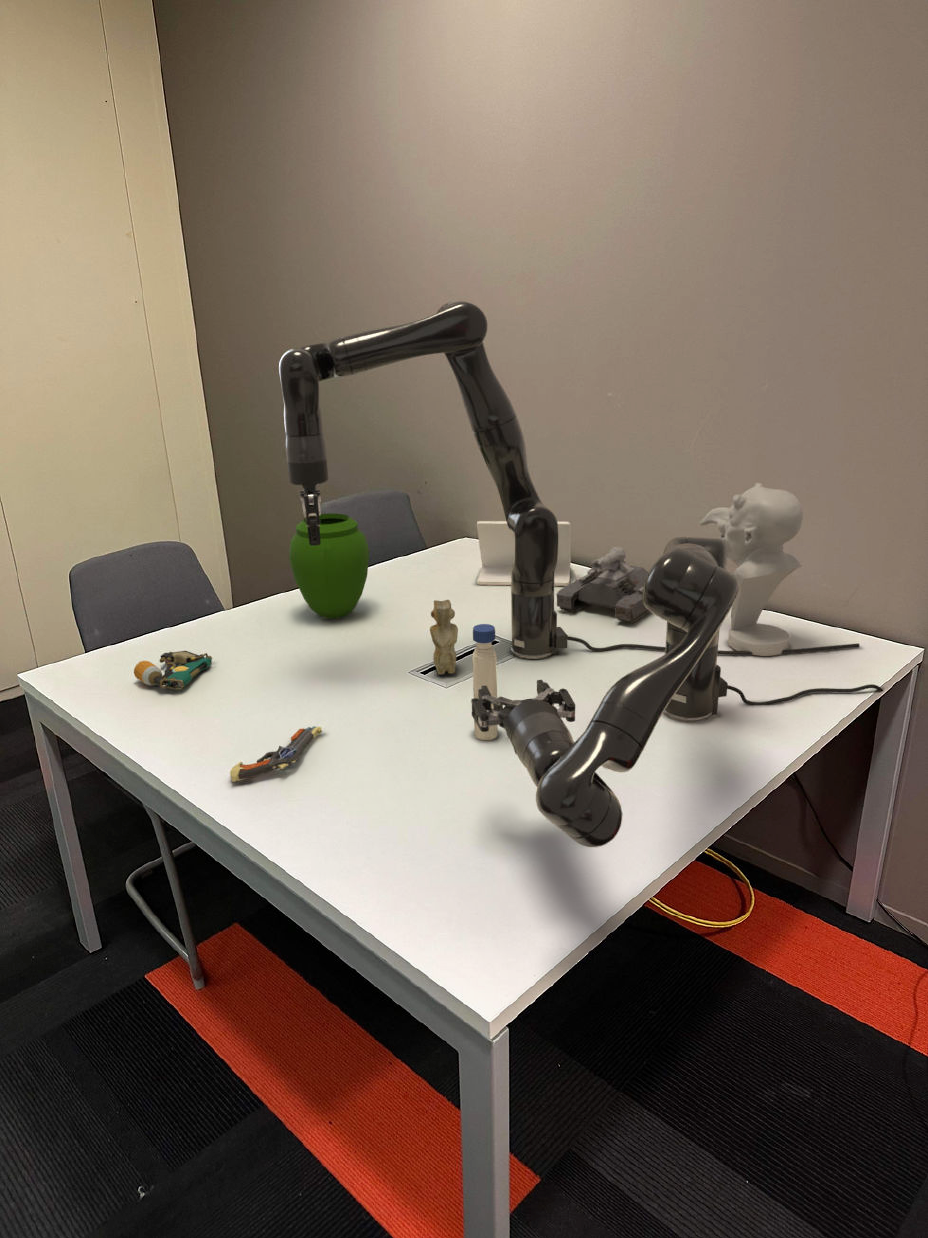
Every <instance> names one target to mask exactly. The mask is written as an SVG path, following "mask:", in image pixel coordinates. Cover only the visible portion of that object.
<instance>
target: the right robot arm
mask: <svg viewBox="0 0 928 1238" xmlns="http://www.w3.org/2000/svg"><path fill="white" fill-rule="evenodd" d="M727 565H728V557H727V548H726V545H725V543H724V541H723V540H721V539H719V538H713V537H712V538H711V537H694V536H693V537H691V536H690V537H689V536H688V537H687V536H679V537H678V536H677V537H673V538H671V539H669V541H667V543H666V545H665V547H664V549H663V553H662V554H661V555H660V556H659V557H658V559H657V560H656V561H655V562H654V564H653V565H652V566H651V568H650V570H649V571H648V575H647V577H646V580H645V582H644V586H643V590H642V601H643V604H644V605H645V607H646V608H647V609H648V610H649V611H650V612H649V613H652V614H653V615H655V616H656V617H658V618H660V619H662V620H664V621H665V622H666V633H665V647H666V648H665V651H664V654H663V655H662V656H660V657H658V658H657V659H654V660H653V661H651V662H649V663H647V664H645V665H643V666H641V667H639V668H636V669H634V670H633V671H631V672H629V673H626V674H625V675H624V676H622V677H621V678H619V679H618V680H617V681H616V682H615V683H614V684H613V685H611V687H610V688H609V689H608V690H607V692H606V693H605V695H604V696H603V697H602V699H601V701H600V703H599V705H598V707H597V709H596V711H595V713H594V714H593V716H592V718H591V719H590V721H589V723H588V725H587V727H586V729H585V730H584V732H582V734H581V735H580V736H579V737H578V738H577V739H576V740H575V741H574V738H573V736H572V733H571V732H570V729H569V728H568V727H567V725H566V724H565V722H564V721H563V719H565V720H566V721H567V722H568V723H574V722H575V721H576V703H575V702H574V700H573V698H572V696H571V694H570V693H569V691H568V690H567V689H566V688H560V689H558V691H556V690H555V689H554V688H552V687H551V686H550V685H549V683H547V682H545V681H543V679H537V680H536V692H537V695H536V697H533V698H525V699H514V700H512V699H510V698H507V697H504V696H501V695H500V696H497V698H495V697H492V696H491V693H490V691H489V689H488V688H487V686H486V685H485V686H481V689H479V690H478V698H479V699H478V698H474V697H473V698H471V700H470V702H471V703H470V704H471V717H472V718H473V721H474V720H475V722H476V724H477V725H478V727H479V729H480V730H481V731H482V732H487V731H489V726H493V725H498V726H499V727H500V728H502V729H504V731H505V733H506V735H507V738H508V740H509V742H510V743H511V746H512V747H513V751H514V754H515V755H516V756H517V758H518V759H519V761H520V762H521V764H522V766H524V767H525V769H526V770H527V772H528V775H529V777H530V779H531V780H532V782H533V784H534V785H535V786H536V791H535V803H536V804H535V805H536V807H537V809H538V811H539V812H540V814H541V815H542V816H544V818H545V819H546V820H548V821H549V822H550V823H552V824H553V825H554V826H556V827H557V828H558V829H559V830H561V831H562V832H563V833H564V834H566V835H567V836H568V837H569V838H570V839H572V841H574V842H575V843H577V844H578V845H580V846H583V847H586V848H599V847H603V846H606V845H607V844H609V843H610V842H611V841H613V840H614V839H615V838H616V836H617V835H618V833H619V832H620V829H621V827H622V822H623V810H622V805H621V802H620V800H619V798H618V796H617V795H616V794H615V792H614V791H613V790H612V789H611V788H610V787H609V785H608V784H607V783H606V782H605V781H604V780H603V779H602V777H601V776H600V774H598V773H597V772H596V771H597V770H598V769H599V768H600V767H603V768H604V769H607V770H609V771H613V772H616V773H627V772H630V771H631V770H632V769H633V768H634V767H635V765H636V764H637V763H638V761H639V759H640V758H641V755H642V754H643V751H644V750H645V748H646V746H647V744H648V742H649V740H650V739H651V737H652V735H653V732H654V730H655V728H656V726H657V724H658V723H659V721H660V719H661V717H662V715H663V714H664V715H665V716H667V717H668V718H671V719H673V720H677V721H681V722H690V723H691V722H702V721H706V720H708V719H710V718H711V717H712V716H717V715H718V709H719V698H723V697H724V698H725V697H728V695H727V694H728V690H730V691H733V692H735V693H736V694H738V695H739V697H740V699H741V700H742V702H743V703H744V704H746V705H749V706H770V705H774V704H778V703H784V702H788V701H792V700H795V699H797V698H799V697H801V696H804V695H806V694H813V693H856V692H860V691H864V690H867V689H875V690H876V691H878V692H884V689H883V688H882V687H880V686H879V685H877V684H874V683H873V684H865V685H862V686H861V685H860V686H858V687H851V688H833V687H832V688H831V687H827V688H826V687H819V688H810V689H803V690H801V691H798V692H797V693H794V694H793V695H789V696H786V697H781V698H776V699H771V700H767V701H751V700H748V699H747V698H746V696H745V694H744V692H743V691H742V690H741V689H739V688H738V687H735V686H732V685H729V684H728V682H727V681H726V680H725V679H724V678H723V677H721V674H722V673H721V672H722V671H721V670H722V668H721V666H720V665H719V664H717V663H718V655H719V654H718V650H719V639H720V630H721V629H720V628H721V627H722V625H723V624H724V622H725V620H726V618H727V617H728V615H729V614H730V612H731V609H732V605H733V603H734V601H735V599H736V596H737V593H738V589H739V582H738V579H737V578H736V577H735V576H734V573H732V572H730V571H728V570H727ZM491 704H493V706H494V709H492V708H491ZM555 705H558V707H559V708H557V707H556V706H555Z"/></svg>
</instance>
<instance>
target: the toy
mask: <svg viewBox="0 0 928 1238" xmlns="http://www.w3.org/2000/svg"><path fill="white" fill-rule="evenodd" d="M626 557H627V556H626V551H625V549H624V548H622V547H621V546H614V547H612V548H611V549H610V550H609V552H608V553H607V554H605V555H604V556H601V557H599V558H598V559H597V557H596V558H594V559H593V560H592V561H590V562H589V563H590V564H591V565H592V567H591V568H590V569H589V570H587V573H586V575H584V576H582V577H580V578H578V579H577V580H575V581H573V582H570V583H569V585H567V586H563V587H562V588H560V589H559V590H558V591H557V592H556V607H558V608H559V609H560V610H562V611H566V612H572V613H575V612H577V611H579V610H581V609H582V608H585V607H586V606H588V605H592V606H598V607H602V608H603V607H604V608H609V609H613V610H614V618H615V619H617V620H618V621H621V622H626V623H631V624H634V623H635V622H637V621H638V620H640V619H641V618H642V617H644V616H645V615H647V614H648V613H651V612H650V611H649V610H648V609H647V608H646V607H645V605H644V604H643V601H642V590H643V586H644V582H645V580H646V577H647V575H648V573H649V571H647V570H646V568H644V567H641V566H635V565H629V564H628V563H627V562H626V561H625V559H626Z"/></svg>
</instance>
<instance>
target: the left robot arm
mask: <svg viewBox="0 0 928 1238" xmlns="http://www.w3.org/2000/svg"><path fill="white" fill-rule="evenodd" d="M487 332H488V320H487V316H486V315H485V313H484V311H483V310H482V308H480V307H479V306H477V305H476V304H474V303H472V302H470V301H466V300H453V301H449V302H446V303H444V304H443V305H442V306H441V307H439V309H438V310H437V312H436V313H434V314H432V315H429V316H426V317H424V318H421V319H419V320H414V321H412V322H408V323H407V322H406V323H404V324H399V325H393V326H387V327H381V328H380V327H379V328H375V329H369V330H365V331H361V332H360V331H359V332H355V333H352V334H349V335H348V334H347V335H344V336H340V337H338V338H334V339H332V340H329V341H325V342H320V343H315V344H309V345H304V346H299V347H295V348H291V349H289V350H287V351H286V352H284V353H283V355H282V356H281V357H280V360H279V365H278V371H279V378H280V384H281V393H282V399H283V400H282V401H283V405H284V408H283V417H284V418H283V420H284V429H285V431H284V432H285V452H286V462H287V472H288V482H289V483H290V484H291V485H293V486H301V487H302V490H299V497H300V504H301V505H302V514H303V517H304V518H306V520H307V521H306V525H307V527H308V535H309V544H310V545H311V546H313V545H320V544H321V539H320V528H319V526H320V523H321V522H320V519H319V516H320V515H321V514H322V507H321V506H322V505H321V502H322V495H321V489H317V487H316V486H317V485H322V484H324V483H327V482H328V480H329V470H328V457H327V448H326V441H325V436H324V426H323V416H322V415H323V414H322V411H321V406H320V382H322V381H326V380H329V379H333V378H345V377H350V376H355V375H358V374H361V373H366V372H369V371H372V370H376V369H380V368H383V367H387V366H390V365H393V364H396V363H400V362H403V361H407V360H411V359H415V358H420V357H424V356H430V355H436V354H444V356H445V358H446V360H447V362H448V365H449V367H450V368H451V370H452V372H453V376H454V377H455V380H456V383H457V385H458V388H459V393H460V396H461V399H462V403H463V406H464V409H465V412H466V415H467V418H468V422H469V425H470V428H471V431H472V433H473V436H474V439H475V441H476V444H477V447H478V449H479V451H480V453H481V456H482V458H483V460H484V463H485V465H486V468H487V469H488V472H489V473H490V475H491V477H492V479H493V482H494V484H495V486H496V488H497V491H498V494H499V498H500V501H501V505H502V506H501V507H502V509H503V513H504V517H505V521H506V522H507V526H508V529H509V531H510V533H511V534H512V536H513V537H514V538H515V561H514V563H513V564H512V566H511V585H510V588H511V589H510V597H511V599H510V603H511V604H510V606H511V607H510V609H511V610H510V615H511V617H510V618H511V621H510V622H511V643H510V644H511V647H510V651H511V653H512V655H513V656H515V657H518V658H521V659H525V660H526V659H527V660H540V659H545V658H548V657H550V656H552V655H557V654H558V653H557V650H562V649H564V650H565V649H568V645H569V643H568V641H571V642H576V643H580V644H582V645H584V646H585V648H587V649H588V650H590V651H592V652H598V653H599V652H607V651H612V650H615V649H616V650H617V649H627V648H628V649H641V650H642V649H643V650H650V651H664V652H665V648H666V646H659V645H658V646H656V645H649V644H648V645H645V644H637V643H636V644H635V643H619V644H614V645H610V646H605V647H595V646H592V645H590V643H589V642H588V641H586V640H584V639H582V638H579V637H574V636H568V634H567V633H566V631H565V630H564V629H563V628H562V627H561V626H558V613H557V612H556V611H555V586H554V571H555V568H556V565H557V558H558V522H559V521H558V518H557V517H556V515H555V513H554V512H553V511H552V510H551V509H549V508H548V507H547V506H545V505H544V503H543V502H542V500H541V498H540V496H539V494H538V492H537V489H536V487H535V485H534V483H533V480H532V478H531V475H530V472H529V467H528V458H527V449H526V448H527V447H526V441H525V437H524V434H523V430H522V428H521V425H520V422H519V419H518V417H517V414H516V411H515V409H514V406H513V404H512V402H511V400H510V398H509V396H508V393H506V391H505V389H504V387H503V385H502V384H501V382H500V381H499V379H498V377H497V376H496V374H495V372H494V370H493V369H492V365H491V363H490V361H489V357H488V355H487V351H486V348H485V345H484V340H485V338H486V337H487ZM853 648H855V649H856V648H860V643H847V644H837V645H828V646H827V645H826V646H825V645H824V646H816V647H805V648H791V649H790V648H789V649H788V650H783V651H782V652H781V653H782V654H781V655H784V654H799V653H810V652H821V651H832V650H842V649H843V650H845V649H853ZM752 654H753V653H752V652H750V651H737V650H719V649H718V654H717V655H725V656H726V655H728V656H729V655H730V656H731V655H732V656H733V655H734V656H749V655H750V656H753V655H752Z"/></svg>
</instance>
